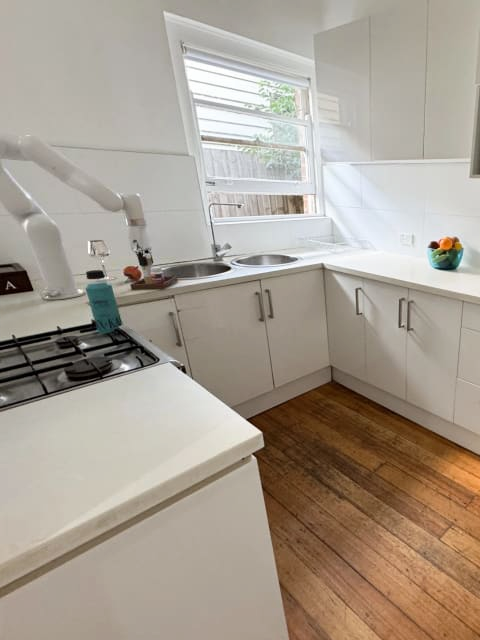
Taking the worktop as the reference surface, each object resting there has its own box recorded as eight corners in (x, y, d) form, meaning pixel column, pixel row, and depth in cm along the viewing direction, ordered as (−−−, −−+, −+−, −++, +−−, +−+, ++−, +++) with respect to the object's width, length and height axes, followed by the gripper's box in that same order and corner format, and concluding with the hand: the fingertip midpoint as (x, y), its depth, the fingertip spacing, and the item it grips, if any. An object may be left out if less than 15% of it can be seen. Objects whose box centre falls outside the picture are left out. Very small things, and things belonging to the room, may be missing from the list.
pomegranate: (135, 287, 179) (149, 271, 184) (120, 276, 174) (135, 260, 178) (128, 286, 183) (142, 271, 187) (113, 276, 178) (128, 260, 182)
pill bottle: (152, 287, 169) (147, 268, 166) (155, 285, 173) (151, 266, 170) (164, 287, 170) (159, 268, 167) (167, 284, 175) (163, 266, 171)
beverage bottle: (97, 334, 117) (77, 270, 110) (123, 329, 122) (106, 267, 114) (101, 340, 113) (80, 274, 106) (127, 335, 118) (109, 271, 110)
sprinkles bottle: (143, 283, 176) (136, 253, 171) (154, 281, 179) (148, 252, 174) (147, 284, 173) (140, 254, 168) (158, 283, 176) (151, 253, 172)
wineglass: (99, 281, 179) (87, 242, 172) (93, 279, 183) (82, 241, 176) (119, 278, 185) (109, 241, 178) (113, 276, 189) (103, 239, 183)
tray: (164, 289, 169) (163, 283, 168) (131, 290, 166) (130, 284, 165) (177, 281, 182) (176, 276, 181) (147, 282, 180) (146, 276, 179)
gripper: (136, 221, 173) (146, 261, 180) (116, 224, 158) (128, 268, 165) (154, 221, 175) (163, 261, 181) (136, 224, 159) (147, 268, 166)
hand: (146, 264), depth 173 cm, fingers closed on sprinkles bottle, 4 cm apart
